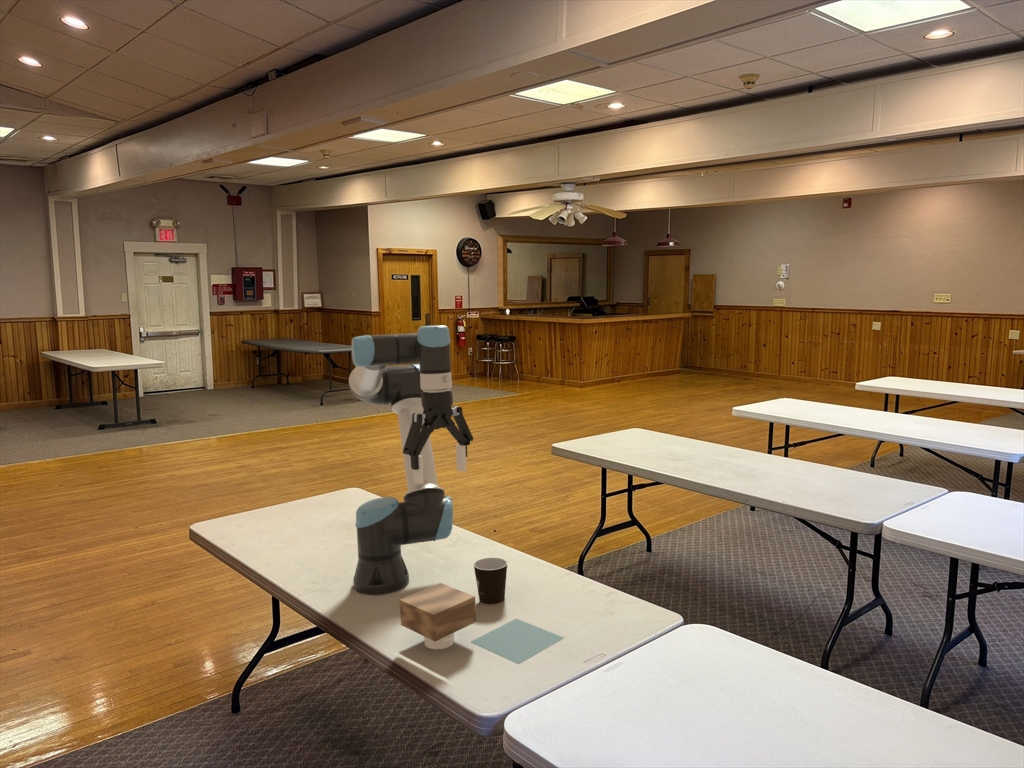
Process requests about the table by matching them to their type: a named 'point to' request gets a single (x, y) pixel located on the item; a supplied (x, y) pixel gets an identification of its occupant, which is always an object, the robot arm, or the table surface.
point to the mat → (517, 640)
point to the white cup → (439, 642)
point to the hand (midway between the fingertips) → (440, 476)
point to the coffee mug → (491, 579)
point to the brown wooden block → (437, 611)
